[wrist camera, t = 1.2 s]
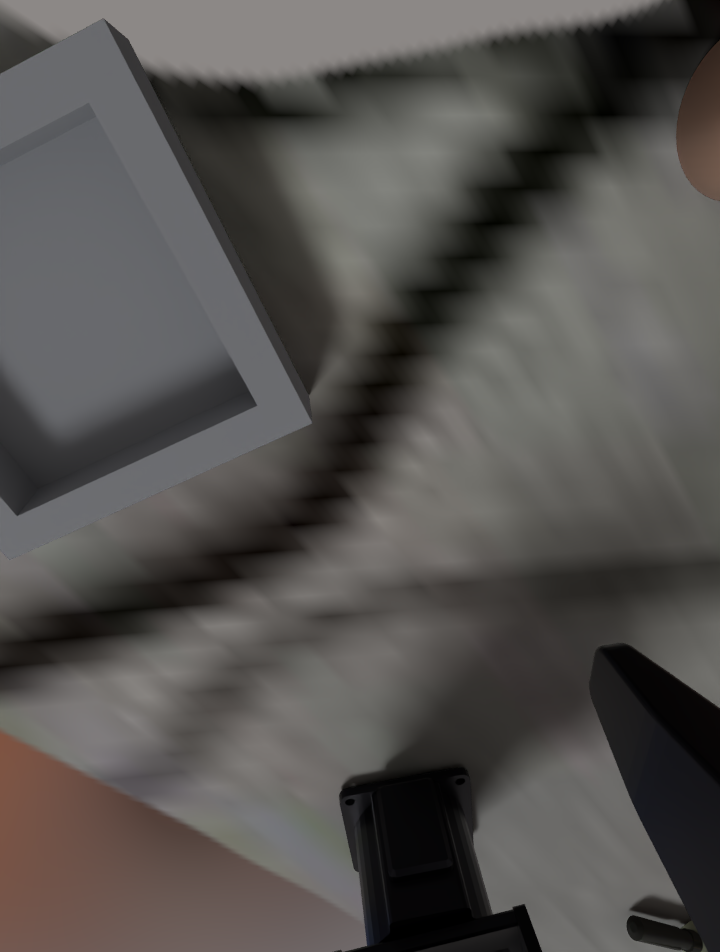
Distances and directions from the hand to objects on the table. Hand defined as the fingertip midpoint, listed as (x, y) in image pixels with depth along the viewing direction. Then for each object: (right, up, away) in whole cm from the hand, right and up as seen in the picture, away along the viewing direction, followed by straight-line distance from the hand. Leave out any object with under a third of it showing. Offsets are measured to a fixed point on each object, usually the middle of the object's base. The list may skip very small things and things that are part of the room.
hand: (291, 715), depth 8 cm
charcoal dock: (-8, +8, +10) cm, 15 cm away
